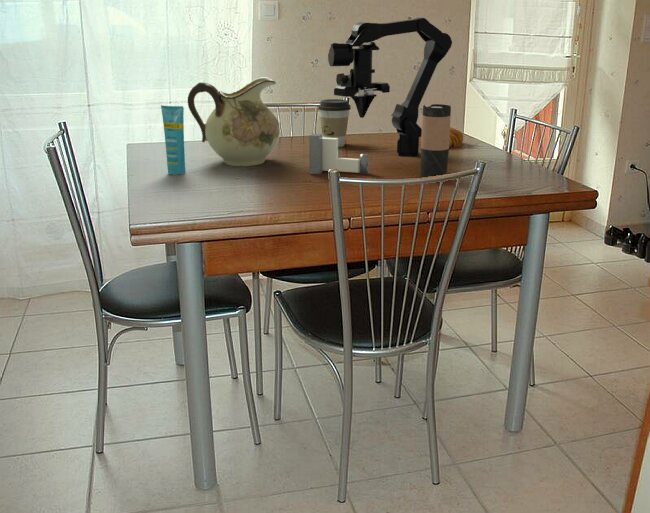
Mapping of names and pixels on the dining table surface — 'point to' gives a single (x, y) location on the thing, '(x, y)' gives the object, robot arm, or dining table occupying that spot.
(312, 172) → the post
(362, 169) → the hinge post
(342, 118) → the coffee cup
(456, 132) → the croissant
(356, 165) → the gate
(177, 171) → the tube
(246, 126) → the pitcher
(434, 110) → the travel mug
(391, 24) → the robot arm
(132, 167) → the dining table surface
